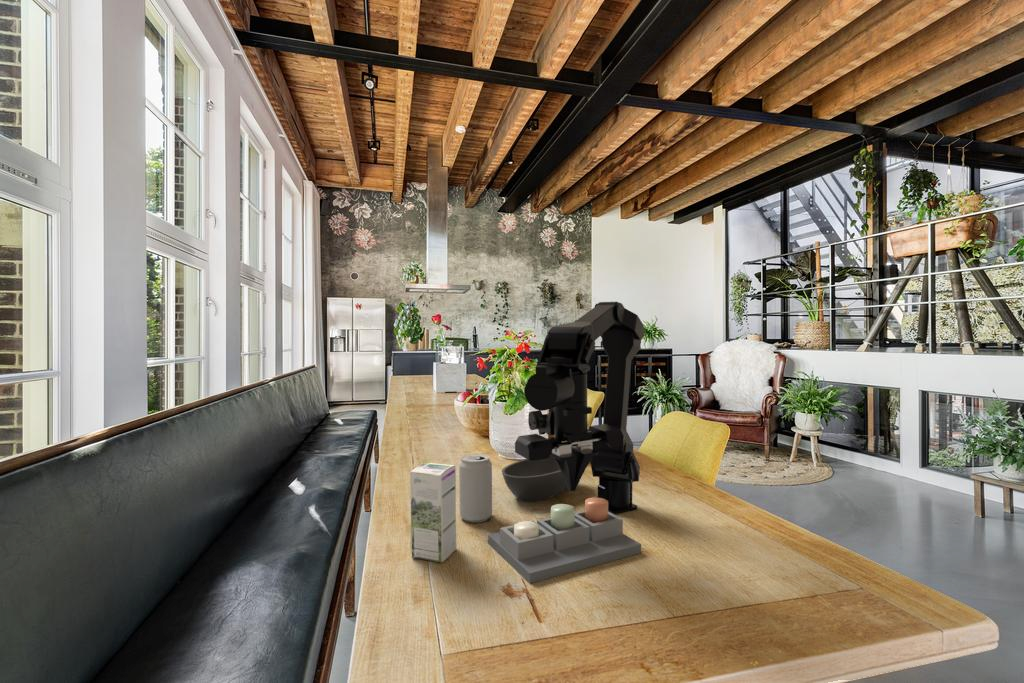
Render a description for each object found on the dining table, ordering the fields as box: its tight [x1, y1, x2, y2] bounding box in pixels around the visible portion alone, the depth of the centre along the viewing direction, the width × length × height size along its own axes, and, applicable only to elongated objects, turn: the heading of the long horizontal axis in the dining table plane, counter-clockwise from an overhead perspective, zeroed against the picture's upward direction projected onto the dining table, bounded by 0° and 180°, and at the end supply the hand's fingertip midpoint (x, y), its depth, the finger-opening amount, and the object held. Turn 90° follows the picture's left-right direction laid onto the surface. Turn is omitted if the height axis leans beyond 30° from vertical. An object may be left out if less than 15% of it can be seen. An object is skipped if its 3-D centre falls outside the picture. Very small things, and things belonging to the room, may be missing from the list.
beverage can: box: [458, 453, 493, 523], centre depth 97 cm, size 6×6×12 cm
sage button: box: [550, 503, 576, 531], centre depth 83 cm, size 4×4×3 cm
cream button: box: [513, 520, 539, 540], centre depth 80 cm, size 4×4×3 cm
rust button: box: [584, 497, 609, 524], centre depth 87 cm, size 4×4×3 cm
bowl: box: [501, 455, 567, 502], centre depth 112 cm, size 12×22×6 cm, turn 135°
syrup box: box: [409, 462, 457, 563], centre depth 82 cm, size 6×6×14 cm
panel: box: [487, 509, 642, 584], centre depth 84 cm, size 21×15×4 cm
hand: (571, 490), depth 84 cm, fingers closed
